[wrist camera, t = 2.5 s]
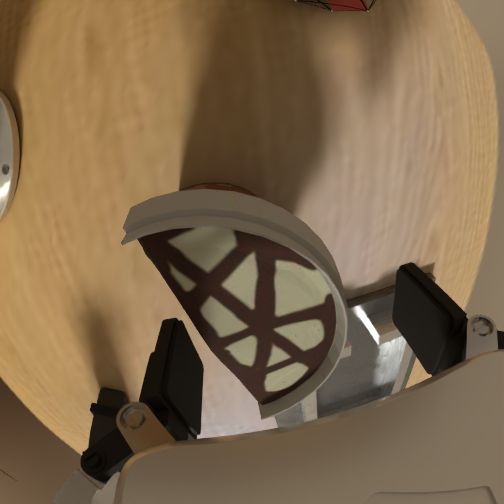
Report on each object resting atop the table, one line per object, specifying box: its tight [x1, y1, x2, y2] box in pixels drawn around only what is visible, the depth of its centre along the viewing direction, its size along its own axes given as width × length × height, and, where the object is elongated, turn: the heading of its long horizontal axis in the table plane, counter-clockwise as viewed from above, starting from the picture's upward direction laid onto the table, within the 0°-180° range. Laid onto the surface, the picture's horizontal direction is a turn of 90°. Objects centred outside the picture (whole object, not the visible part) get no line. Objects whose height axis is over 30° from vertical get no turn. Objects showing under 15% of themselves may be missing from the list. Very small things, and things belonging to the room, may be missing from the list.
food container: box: [121, 183, 348, 420], centre depth 14 cm, size 12×6×10 cm, turn 23°
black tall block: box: [83, 388, 128, 453], centre depth 22 cm, size 4×13×15 cm, turn 170°
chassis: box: [275, 273, 436, 428], centre depth 25 cm, size 20×18×4 cm
